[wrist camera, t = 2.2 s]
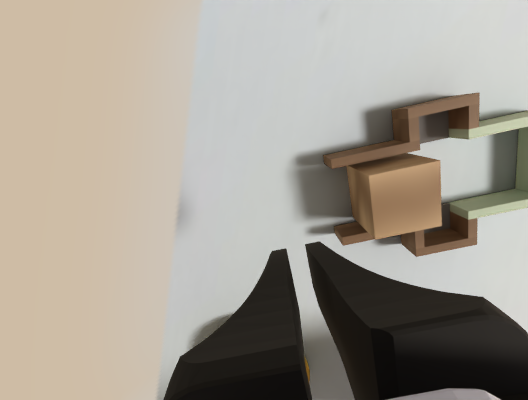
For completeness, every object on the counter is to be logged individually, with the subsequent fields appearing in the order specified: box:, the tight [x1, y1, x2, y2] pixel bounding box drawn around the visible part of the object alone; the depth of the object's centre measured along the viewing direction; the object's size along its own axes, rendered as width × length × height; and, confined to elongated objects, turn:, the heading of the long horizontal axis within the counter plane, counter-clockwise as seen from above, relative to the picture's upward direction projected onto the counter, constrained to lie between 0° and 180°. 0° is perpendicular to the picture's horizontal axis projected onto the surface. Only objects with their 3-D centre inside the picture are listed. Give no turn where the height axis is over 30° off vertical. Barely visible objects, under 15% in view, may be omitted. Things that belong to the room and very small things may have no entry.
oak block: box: [346, 153, 442, 240], centre depth 17 cm, size 4×4×4 cm
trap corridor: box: [323, 93, 528, 257], centre depth 18 cm, size 10×14×2 cm
